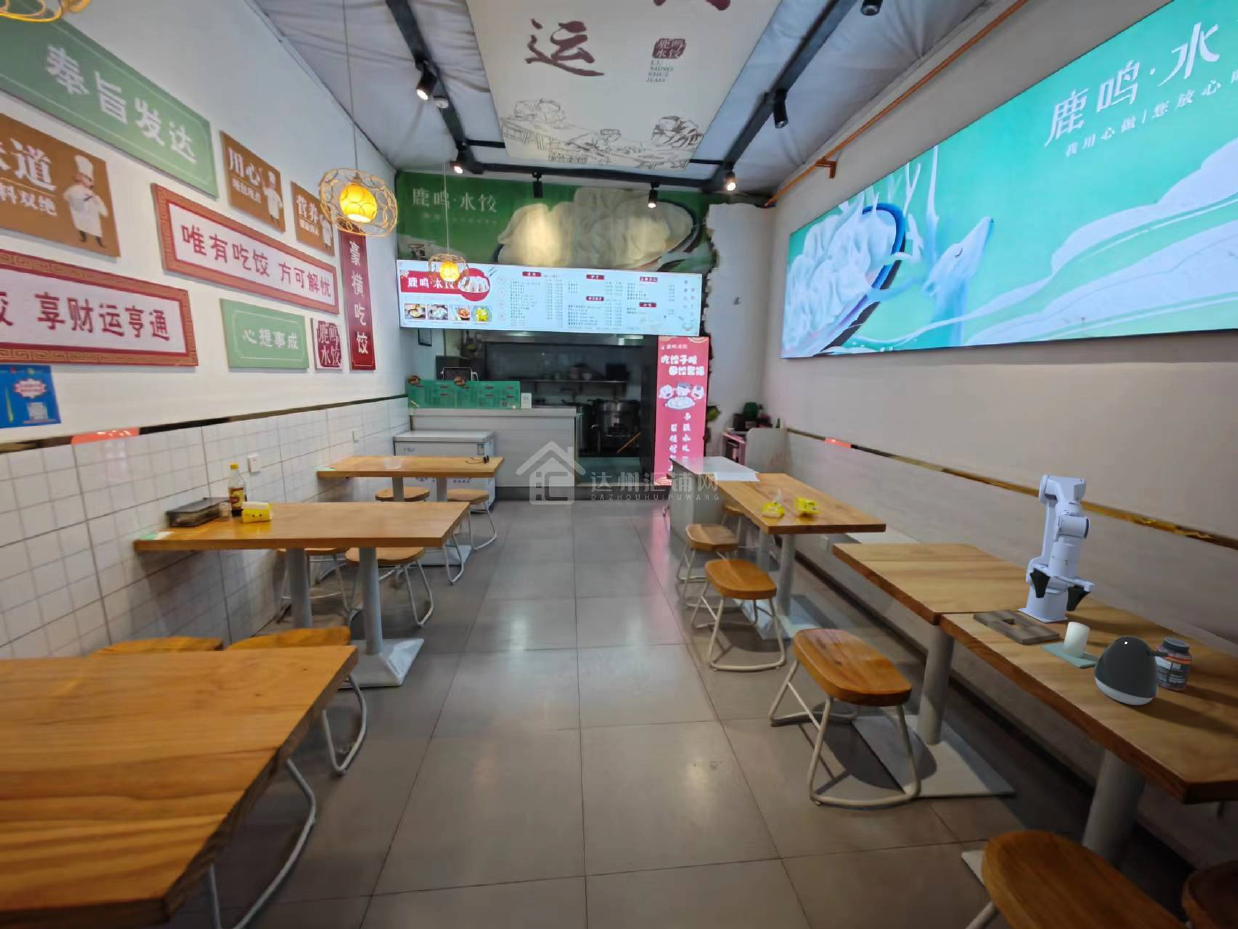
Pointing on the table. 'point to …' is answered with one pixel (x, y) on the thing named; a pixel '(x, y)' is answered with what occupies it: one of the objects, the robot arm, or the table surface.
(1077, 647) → the white cylinder
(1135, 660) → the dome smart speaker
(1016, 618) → the socket board
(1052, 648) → the rubber mat
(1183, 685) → the supplement bottle
